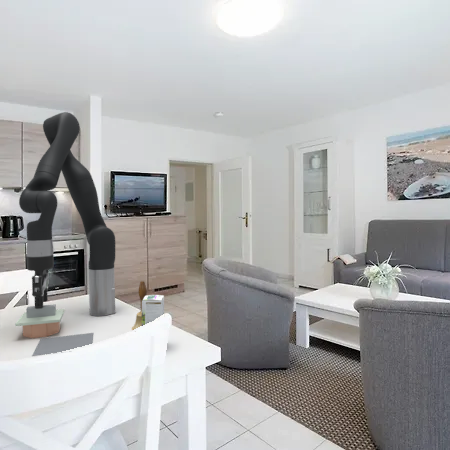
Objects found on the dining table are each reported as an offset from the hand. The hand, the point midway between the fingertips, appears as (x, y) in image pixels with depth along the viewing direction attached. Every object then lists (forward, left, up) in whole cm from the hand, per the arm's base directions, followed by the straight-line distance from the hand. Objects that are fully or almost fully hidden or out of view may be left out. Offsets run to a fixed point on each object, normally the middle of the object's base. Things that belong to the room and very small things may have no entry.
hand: (41, 304), depth 109 cm
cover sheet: (0, 0, -4) cm, 4 cm away
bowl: (0, 0, -9) cm, 9 cm away
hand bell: (-31, +7, -10) cm, 33 cm away
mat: (-8, +13, -9) cm, 18 cm away
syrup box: (-32, +23, -9) cm, 41 cm away
